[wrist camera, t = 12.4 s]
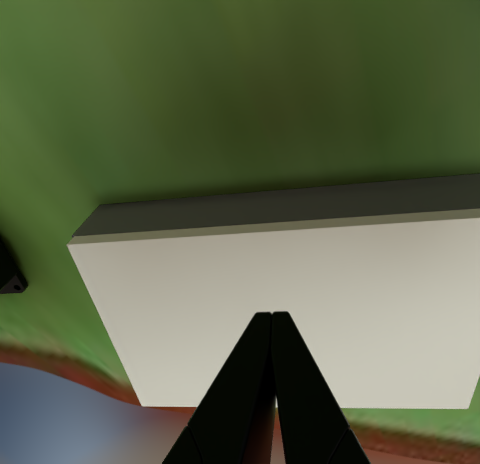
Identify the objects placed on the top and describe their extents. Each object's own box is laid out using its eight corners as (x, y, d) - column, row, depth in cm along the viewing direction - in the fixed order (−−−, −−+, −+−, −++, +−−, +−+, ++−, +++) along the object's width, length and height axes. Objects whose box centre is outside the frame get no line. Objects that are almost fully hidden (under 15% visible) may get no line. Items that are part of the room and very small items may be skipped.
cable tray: (162, 367, 30) (149, 406, 27) (99, 204, 22) (71, 235, 19) (439, 364, 27) (459, 408, 24) (487, 172, 19) (527, 203, 16)
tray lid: (145, 395, 26) (142, 406, 25) (74, 236, 19) (66, 244, 18) (462, 397, 23) (468, 408, 22) (523, 205, 16) (534, 214, 15)
